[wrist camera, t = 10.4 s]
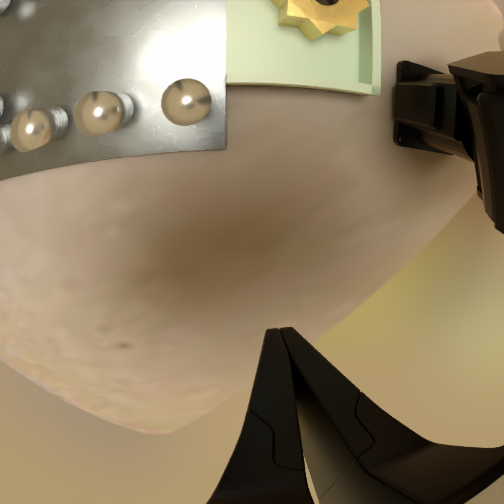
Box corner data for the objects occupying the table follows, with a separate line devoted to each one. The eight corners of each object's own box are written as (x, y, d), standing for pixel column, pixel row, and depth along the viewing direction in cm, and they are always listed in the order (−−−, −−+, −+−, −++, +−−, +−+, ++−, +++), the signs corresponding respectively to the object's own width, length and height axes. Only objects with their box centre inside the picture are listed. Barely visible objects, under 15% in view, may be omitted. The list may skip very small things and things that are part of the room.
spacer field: (230, -99, 8) (235, -128, 4) (225, 147, 18) (228, 159, 14) (5, -39, 6) (-20, -50, 2) (-5, 180, 16) (-36, 198, 12)
